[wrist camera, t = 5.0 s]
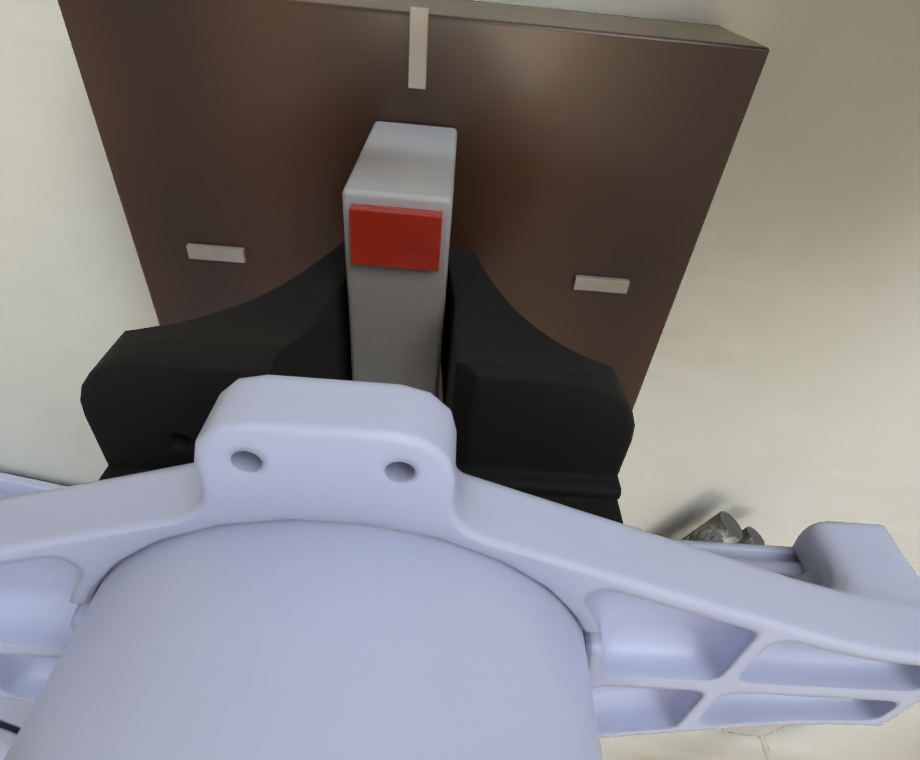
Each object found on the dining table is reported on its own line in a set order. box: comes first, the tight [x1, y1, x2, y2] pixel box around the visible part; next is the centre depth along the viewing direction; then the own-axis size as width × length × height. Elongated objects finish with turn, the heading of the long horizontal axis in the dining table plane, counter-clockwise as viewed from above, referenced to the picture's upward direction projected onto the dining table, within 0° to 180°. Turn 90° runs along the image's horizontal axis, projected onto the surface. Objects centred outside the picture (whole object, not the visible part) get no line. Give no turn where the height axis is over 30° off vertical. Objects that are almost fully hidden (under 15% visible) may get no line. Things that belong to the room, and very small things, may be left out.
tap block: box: [58, 0, 769, 410], centre depth 15 cm, size 14×11×3 cm
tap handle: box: [342, 121, 457, 398], centre depth 13 cm, size 7×2×4 cm, turn 175°
